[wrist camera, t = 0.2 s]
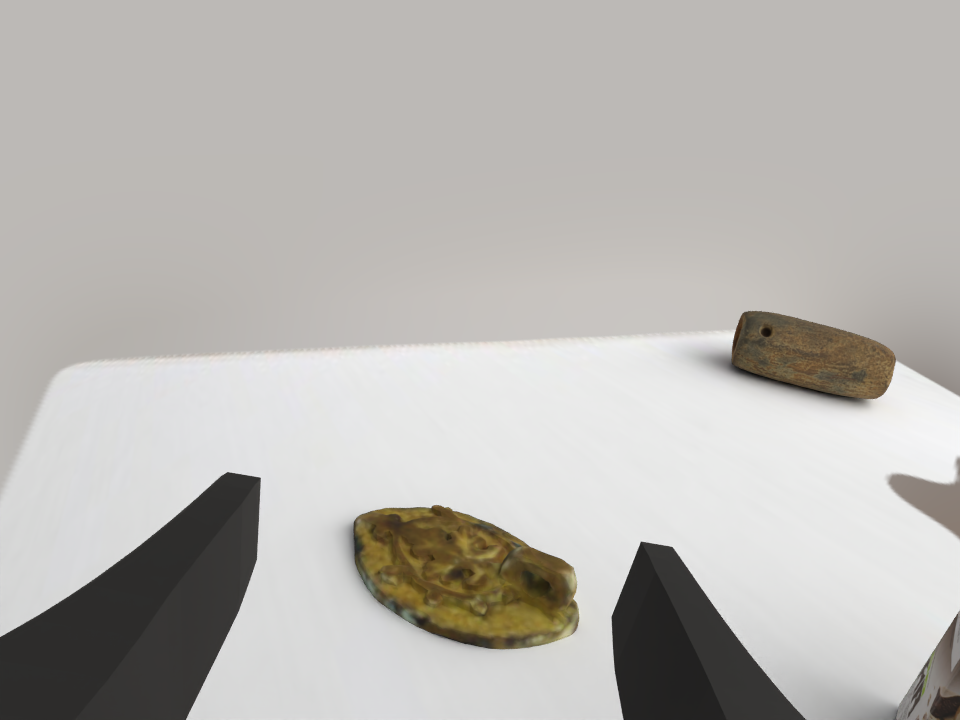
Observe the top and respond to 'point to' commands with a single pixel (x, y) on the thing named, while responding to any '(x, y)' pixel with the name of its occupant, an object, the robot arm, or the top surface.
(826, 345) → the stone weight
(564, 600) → the seal
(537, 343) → the top surface
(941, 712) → the coffee box
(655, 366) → the top surface
